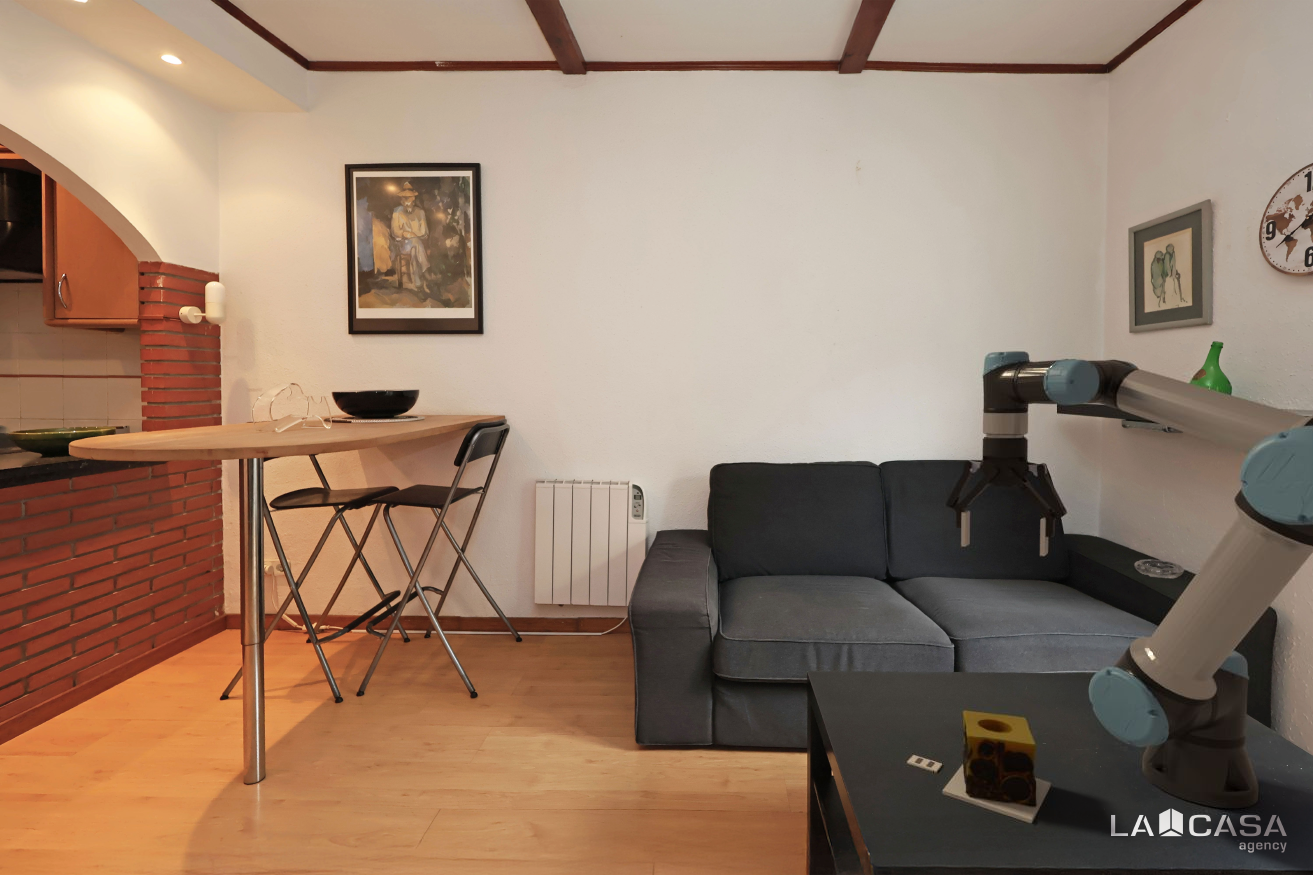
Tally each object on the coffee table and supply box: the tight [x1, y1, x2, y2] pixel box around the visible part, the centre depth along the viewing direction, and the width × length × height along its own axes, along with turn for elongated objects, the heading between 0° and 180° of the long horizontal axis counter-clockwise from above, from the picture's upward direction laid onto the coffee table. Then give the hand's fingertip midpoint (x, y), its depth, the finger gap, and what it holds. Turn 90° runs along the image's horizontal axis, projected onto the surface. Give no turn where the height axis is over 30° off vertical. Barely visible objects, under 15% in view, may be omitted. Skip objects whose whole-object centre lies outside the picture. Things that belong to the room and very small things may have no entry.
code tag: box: [906, 754, 943, 773], centre depth 126 cm, size 5×3×1 cm, turn 51°
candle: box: [962, 710, 1037, 806], centre depth 118 cm, size 10×10×10 cm
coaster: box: [942, 764, 1052, 824], centre depth 118 cm, size 13×13×1 cm
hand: (1003, 549), depth 136 cm, fingers open, 13 cm apart
